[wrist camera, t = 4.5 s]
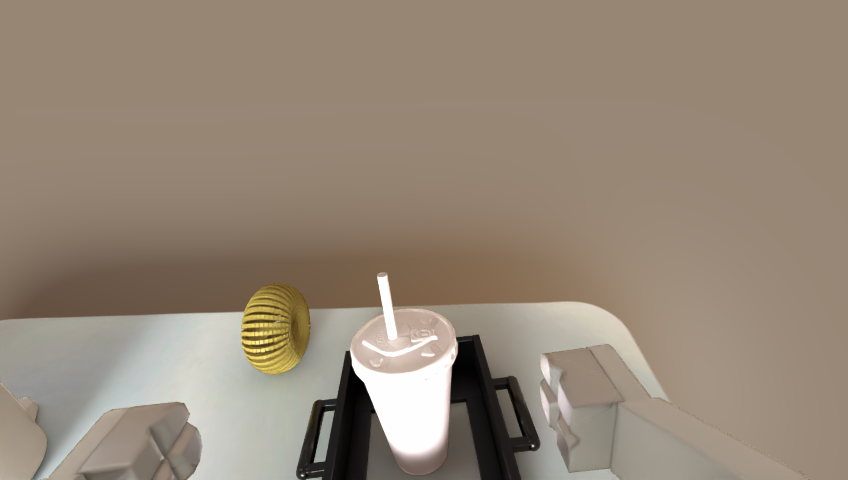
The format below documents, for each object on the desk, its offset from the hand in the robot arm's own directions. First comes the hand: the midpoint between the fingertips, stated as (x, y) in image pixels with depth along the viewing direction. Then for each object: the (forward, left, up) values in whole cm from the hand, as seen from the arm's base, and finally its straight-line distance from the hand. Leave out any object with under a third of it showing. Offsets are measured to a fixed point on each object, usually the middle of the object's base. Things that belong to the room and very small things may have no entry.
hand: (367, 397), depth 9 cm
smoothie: (0, +12, -18) cm, 21 cm away
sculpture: (-12, +23, -18) cm, 32 cm away
